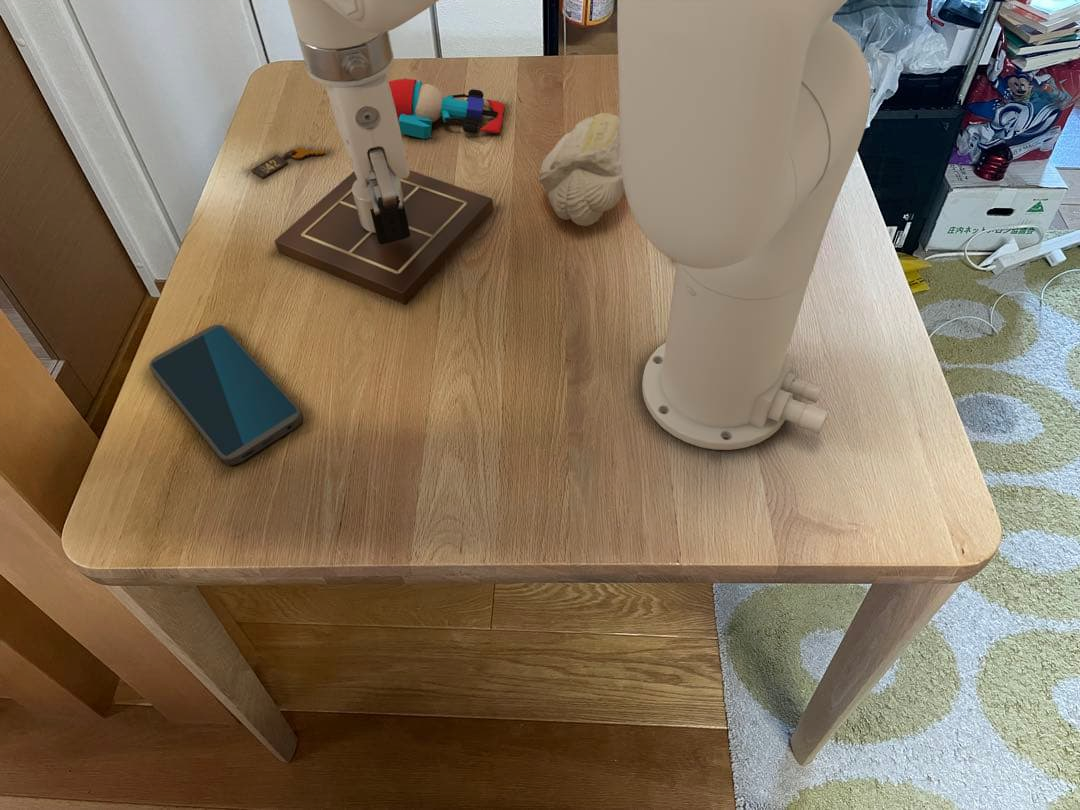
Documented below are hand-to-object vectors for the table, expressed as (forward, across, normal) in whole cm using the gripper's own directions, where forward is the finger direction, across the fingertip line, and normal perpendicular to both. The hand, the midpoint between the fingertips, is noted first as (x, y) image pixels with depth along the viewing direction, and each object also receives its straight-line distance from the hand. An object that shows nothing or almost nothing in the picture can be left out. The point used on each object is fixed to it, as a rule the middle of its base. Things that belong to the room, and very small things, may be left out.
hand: (384, 213), depth 84 cm
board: (+2, 0, 0) cm, 2 cm away
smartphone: (+2, -16, +18) cm, 25 cm away
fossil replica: (+3, -3, -21) cm, 21 cm away
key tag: (+2, +16, +8) cm, 18 cm away
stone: (+1, 0, 0) cm, 1 cm away
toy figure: (+2, +17, -11) cm, 20 cm away
